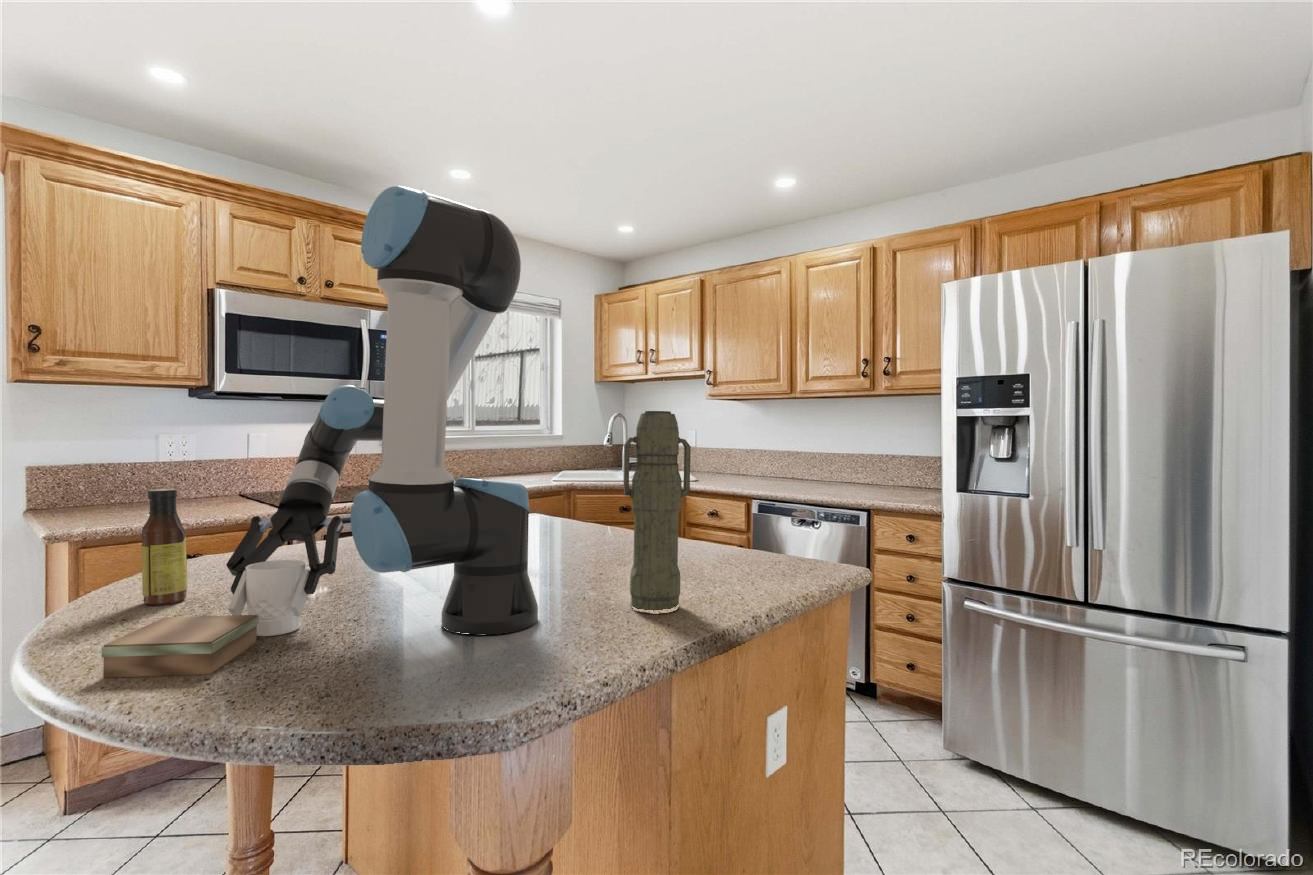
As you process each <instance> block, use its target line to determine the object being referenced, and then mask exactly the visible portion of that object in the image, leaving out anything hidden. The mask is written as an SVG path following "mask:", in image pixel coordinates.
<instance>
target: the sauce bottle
mask: <svg viewBox="0 0 1313 875" xmlns="http://www.w3.org/2000/svg"><path fill="white" fill-rule="evenodd" d="M177 496H178V490H177V489H176V488H159V489H149V490H148V491H147V498H148V500H149V512H148V514H149V516H148V519H147V521H146V522H145V523H144V525H143V527H142V529H141V543H142V544H141V572H142V573H141V578H142V580H141V581H142V586H141V587H142V596H143V603H144V604H145V605H150V606H161V605H170V604H174V603H178V602H182V601H184V600H185V599H186V598H187V590H188V572H187V571H188V570H187V569H188V567H187V566H188V560H187V538H186V537H187V535H186V532H185V529H184V527H183V524H182V522H181V520H180V517H179V515H178V511H177V498H178V497H177Z"/></svg>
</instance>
